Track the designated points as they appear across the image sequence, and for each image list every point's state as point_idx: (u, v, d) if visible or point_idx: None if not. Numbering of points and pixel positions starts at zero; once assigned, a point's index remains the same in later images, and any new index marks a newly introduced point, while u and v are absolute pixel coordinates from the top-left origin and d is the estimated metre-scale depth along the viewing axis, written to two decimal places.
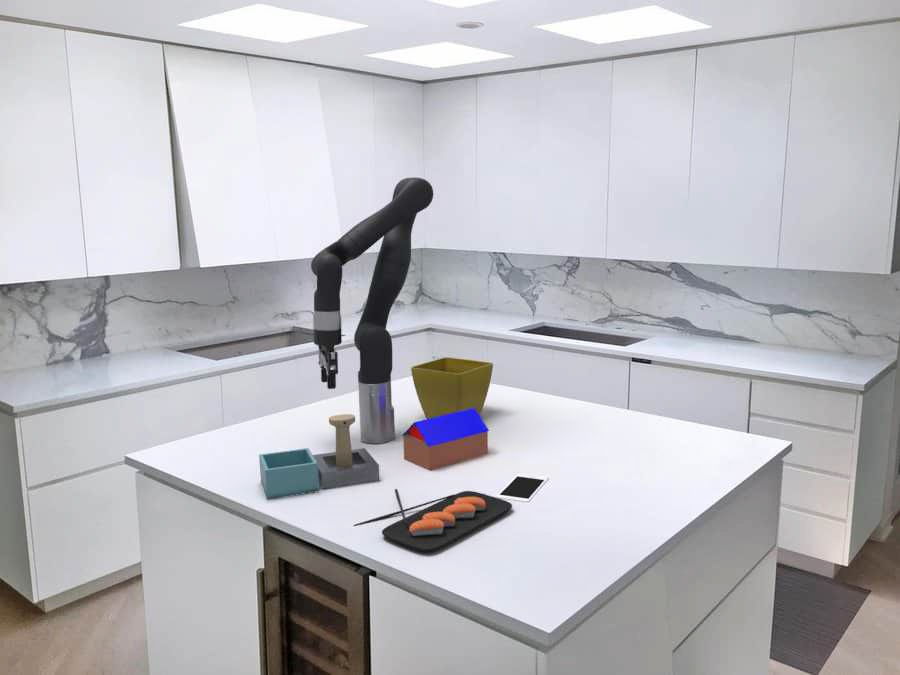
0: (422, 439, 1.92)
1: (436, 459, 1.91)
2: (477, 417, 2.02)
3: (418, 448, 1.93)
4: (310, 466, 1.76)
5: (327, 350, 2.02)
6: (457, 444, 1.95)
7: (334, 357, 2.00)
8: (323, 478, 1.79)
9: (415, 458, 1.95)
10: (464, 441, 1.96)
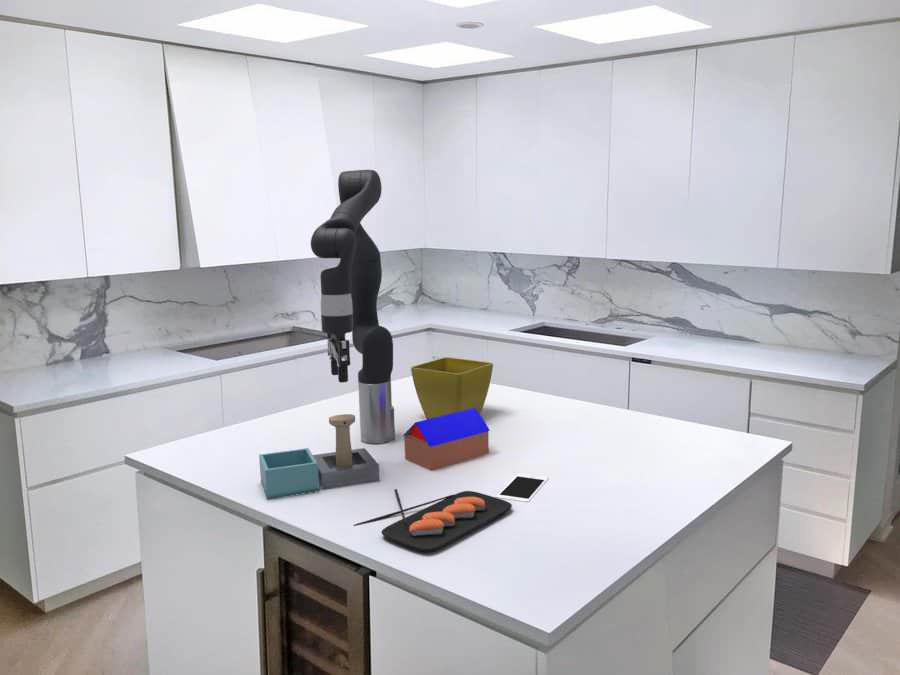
0: (423, 439, 1.92)
1: (437, 459, 1.91)
2: (478, 417, 2.02)
3: (419, 448, 1.93)
4: (310, 466, 1.76)
5: (337, 338, 1.78)
6: (458, 444, 1.95)
7: (345, 346, 1.76)
8: (323, 478, 1.79)
9: (416, 459, 1.95)
10: (465, 441, 1.96)
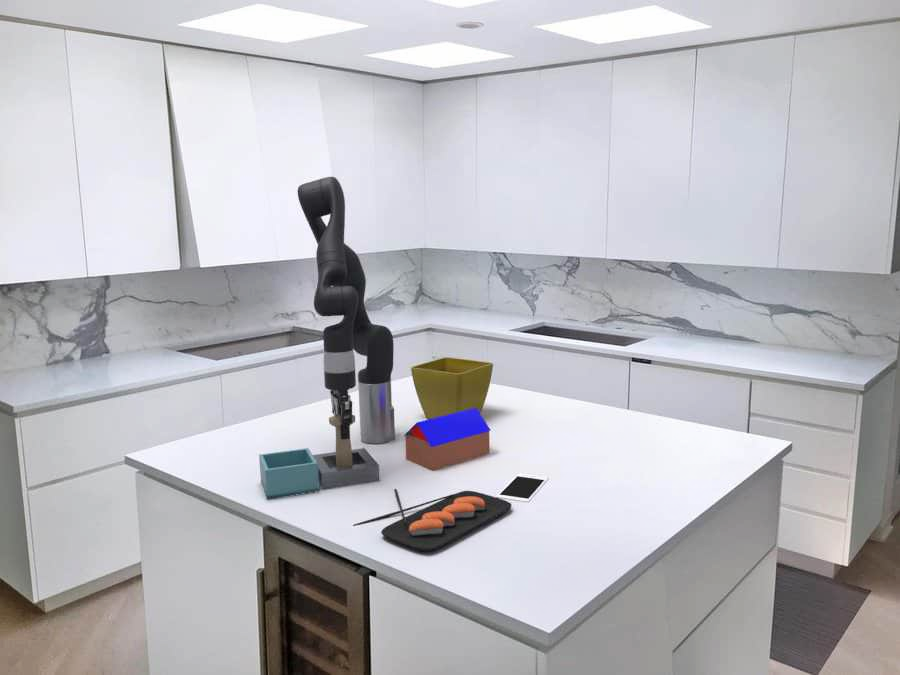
0: (424, 439, 1.92)
1: (439, 459, 1.91)
2: (479, 417, 2.03)
3: (420, 448, 1.93)
4: (310, 466, 1.76)
5: (340, 396, 1.80)
6: (459, 444, 1.95)
7: (348, 407, 1.79)
8: (323, 478, 1.79)
9: (417, 459, 1.95)
10: (466, 441, 1.96)
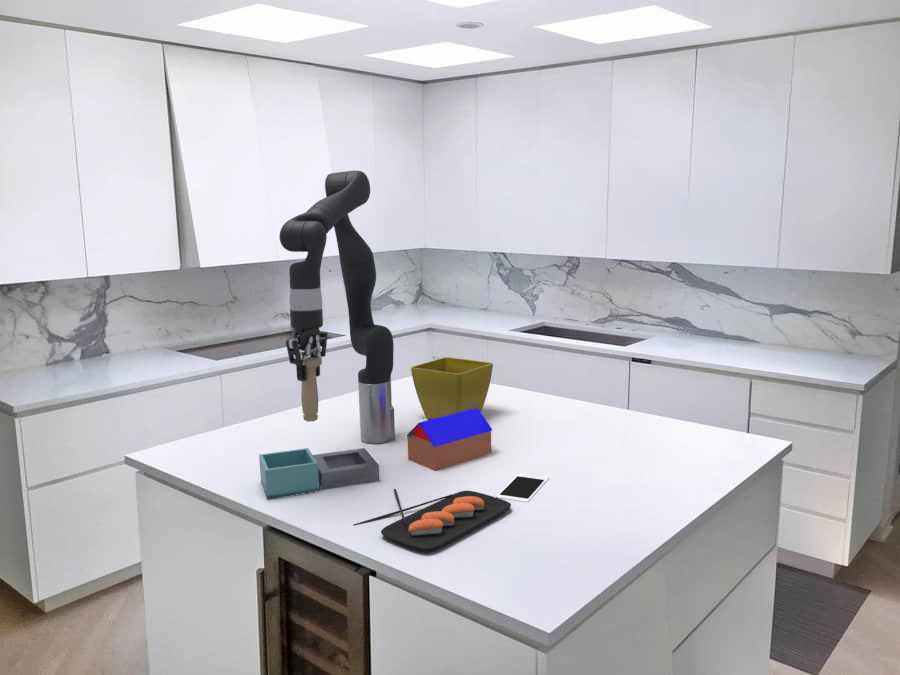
0: (427, 439, 1.92)
1: (441, 459, 1.91)
2: (480, 417, 2.03)
3: (423, 448, 1.93)
4: (310, 466, 1.76)
5: (294, 335, 1.75)
6: (461, 444, 1.95)
7: (292, 346, 1.72)
8: (323, 478, 1.79)
9: (419, 459, 1.95)
10: (468, 441, 1.96)
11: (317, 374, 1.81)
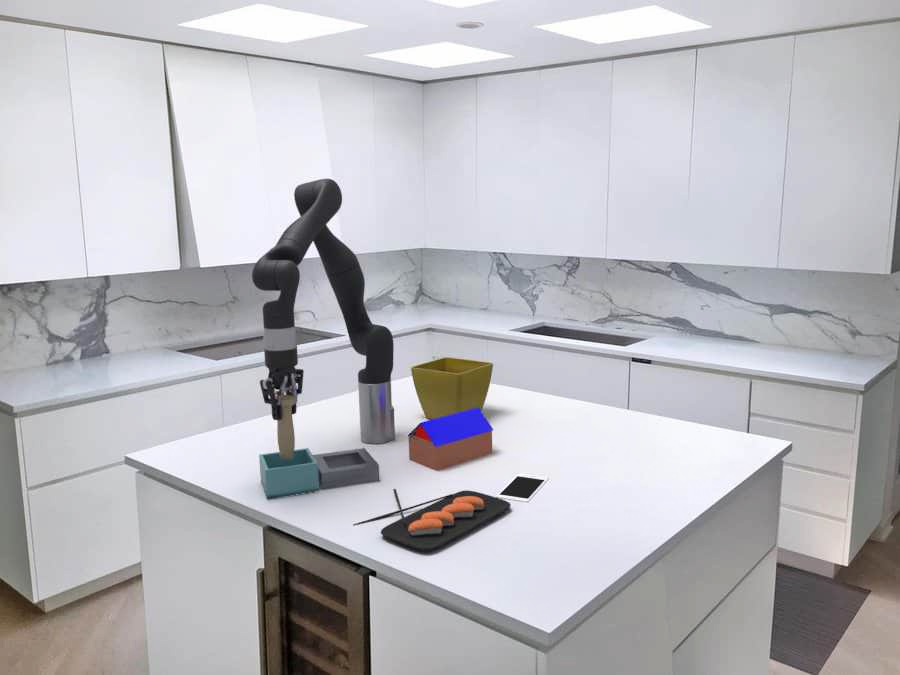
0: (429, 439, 1.91)
1: (443, 459, 1.91)
2: (481, 416, 2.03)
3: (424, 448, 1.93)
4: (310, 466, 1.76)
5: (268, 374, 1.73)
6: (463, 444, 1.95)
7: (266, 387, 1.71)
8: (323, 478, 1.79)
9: (421, 459, 1.94)
10: (470, 441, 1.96)
11: (293, 412, 1.80)
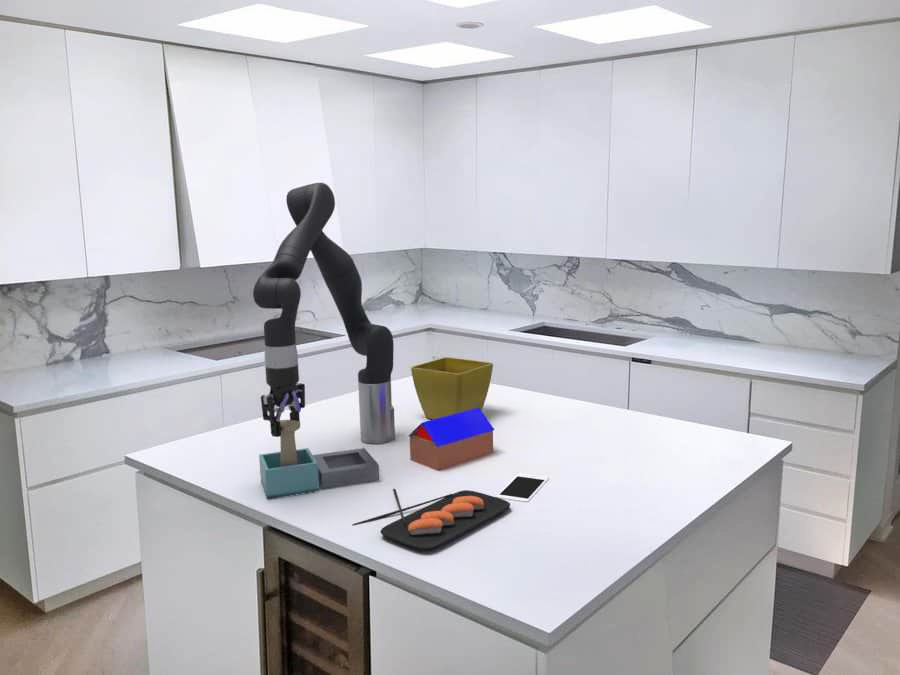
0: (430, 439, 1.91)
1: (444, 459, 1.91)
2: (482, 416, 2.03)
3: (426, 448, 1.93)
4: (310, 466, 1.76)
5: (270, 391, 1.74)
6: (464, 444, 1.95)
7: (266, 402, 1.71)
8: (323, 478, 1.79)
9: (422, 459, 1.94)
10: (471, 441, 1.96)
11: None
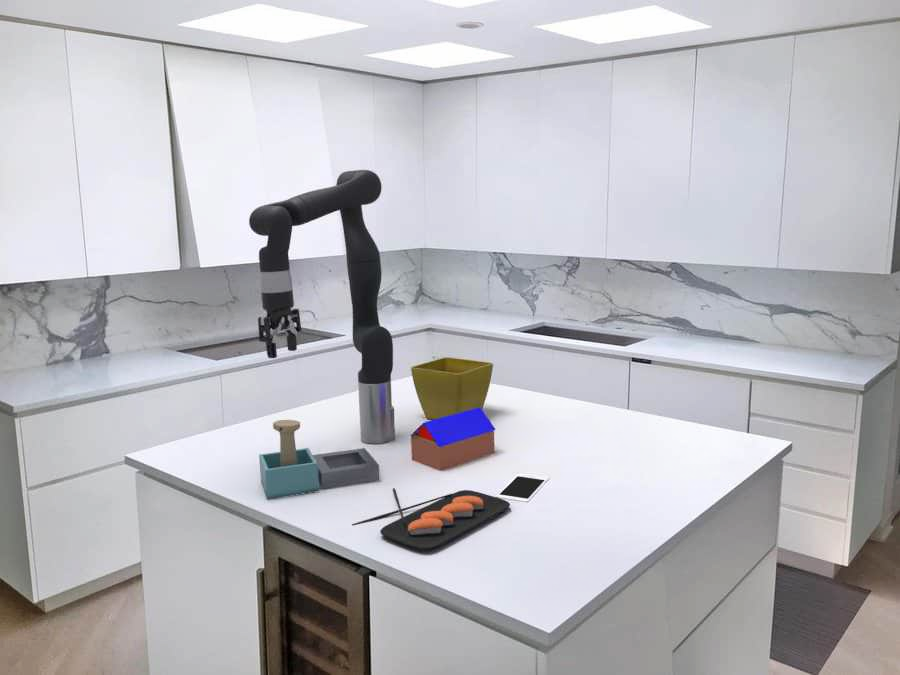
0: (432, 439, 1.91)
1: (446, 459, 1.91)
2: (483, 416, 2.03)
3: (427, 448, 1.93)
4: (310, 466, 1.76)
5: None
6: (465, 444, 1.95)
7: (263, 323, 1.79)
8: (323, 478, 1.79)
9: (424, 459, 1.94)
10: (472, 440, 1.97)
11: (294, 348, 1.90)
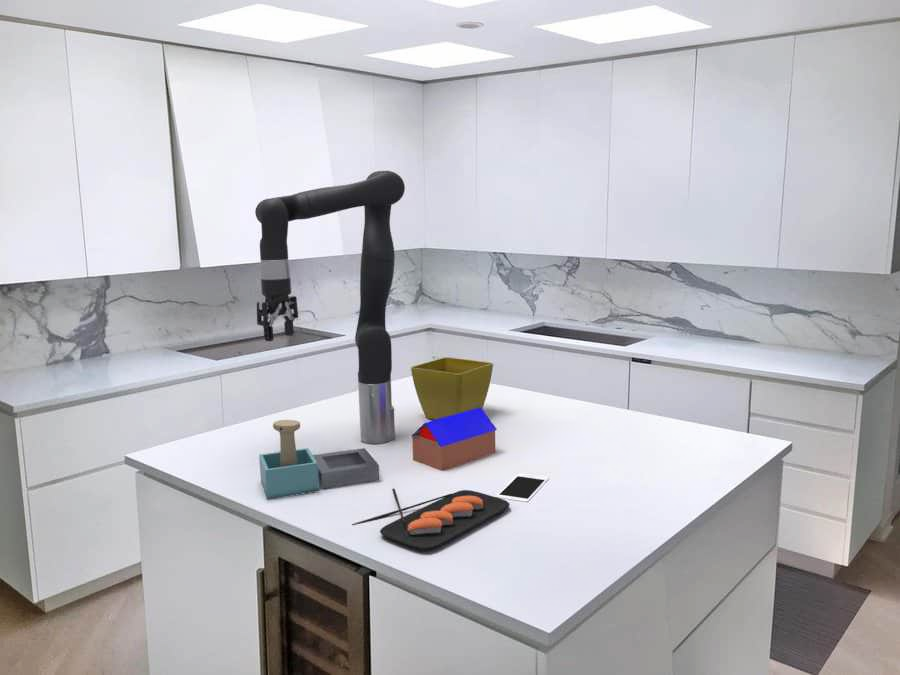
0: (433, 439, 1.91)
1: (448, 459, 1.91)
2: (484, 416, 2.03)
3: (429, 448, 1.93)
4: (310, 466, 1.76)
5: (265, 300, 1.94)
6: (467, 444, 1.95)
7: (261, 307, 1.91)
8: (323, 478, 1.79)
9: (425, 459, 1.94)
10: (474, 440, 1.97)
11: (290, 333, 2.02)
